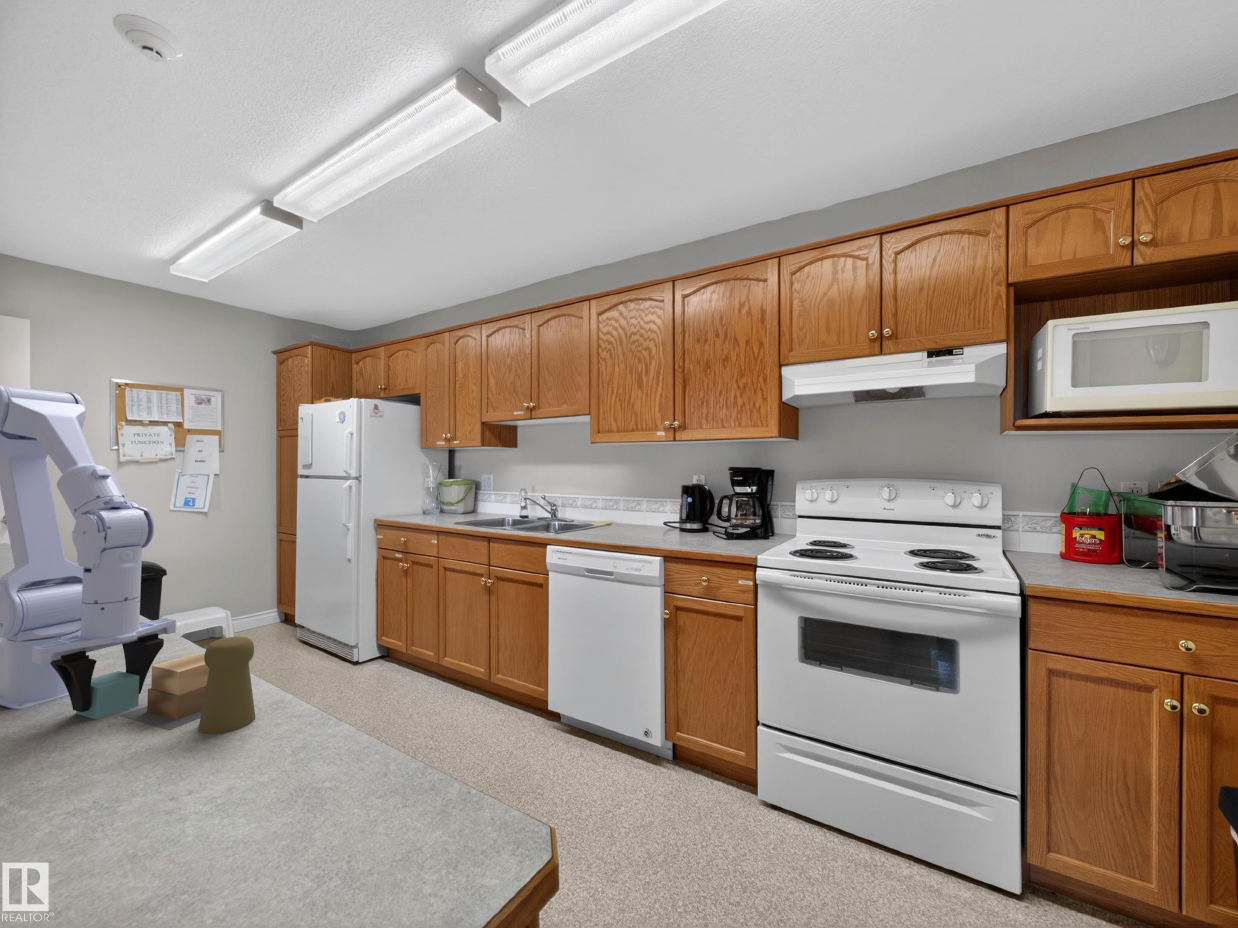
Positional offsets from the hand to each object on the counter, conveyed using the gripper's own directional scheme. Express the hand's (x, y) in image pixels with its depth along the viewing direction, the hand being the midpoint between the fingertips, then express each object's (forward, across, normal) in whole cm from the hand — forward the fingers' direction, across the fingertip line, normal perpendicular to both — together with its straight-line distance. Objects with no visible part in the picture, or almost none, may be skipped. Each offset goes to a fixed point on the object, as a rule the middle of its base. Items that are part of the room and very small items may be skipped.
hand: (108, 701), depth 72 cm
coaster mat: (+1, +4, -8) cm, 10 cm away
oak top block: (-2, +4, -8) cm, 10 cm away
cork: (+2, +4, -18) cm, 18 cm away
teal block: (+2, 0, 0) cm, 2 cm away
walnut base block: (+1, +4, -8) cm, 10 cm away
